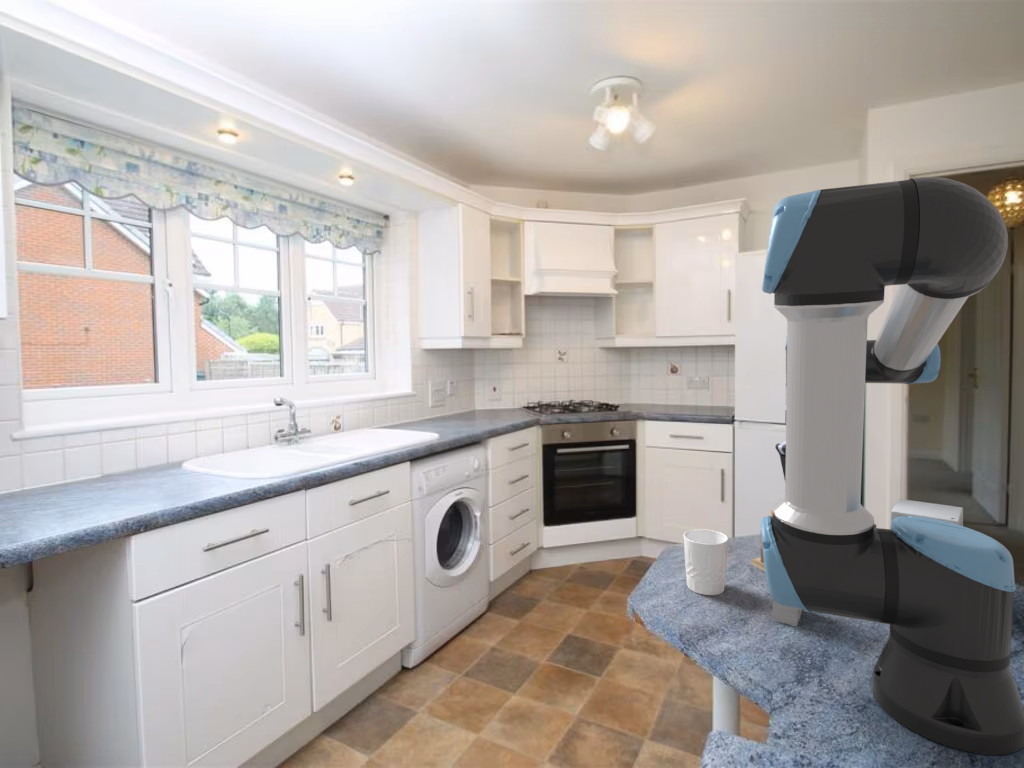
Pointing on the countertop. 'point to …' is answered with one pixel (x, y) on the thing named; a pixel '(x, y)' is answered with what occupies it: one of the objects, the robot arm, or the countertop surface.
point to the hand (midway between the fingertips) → (805, 523)
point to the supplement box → (927, 511)
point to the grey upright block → (785, 613)
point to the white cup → (705, 561)
